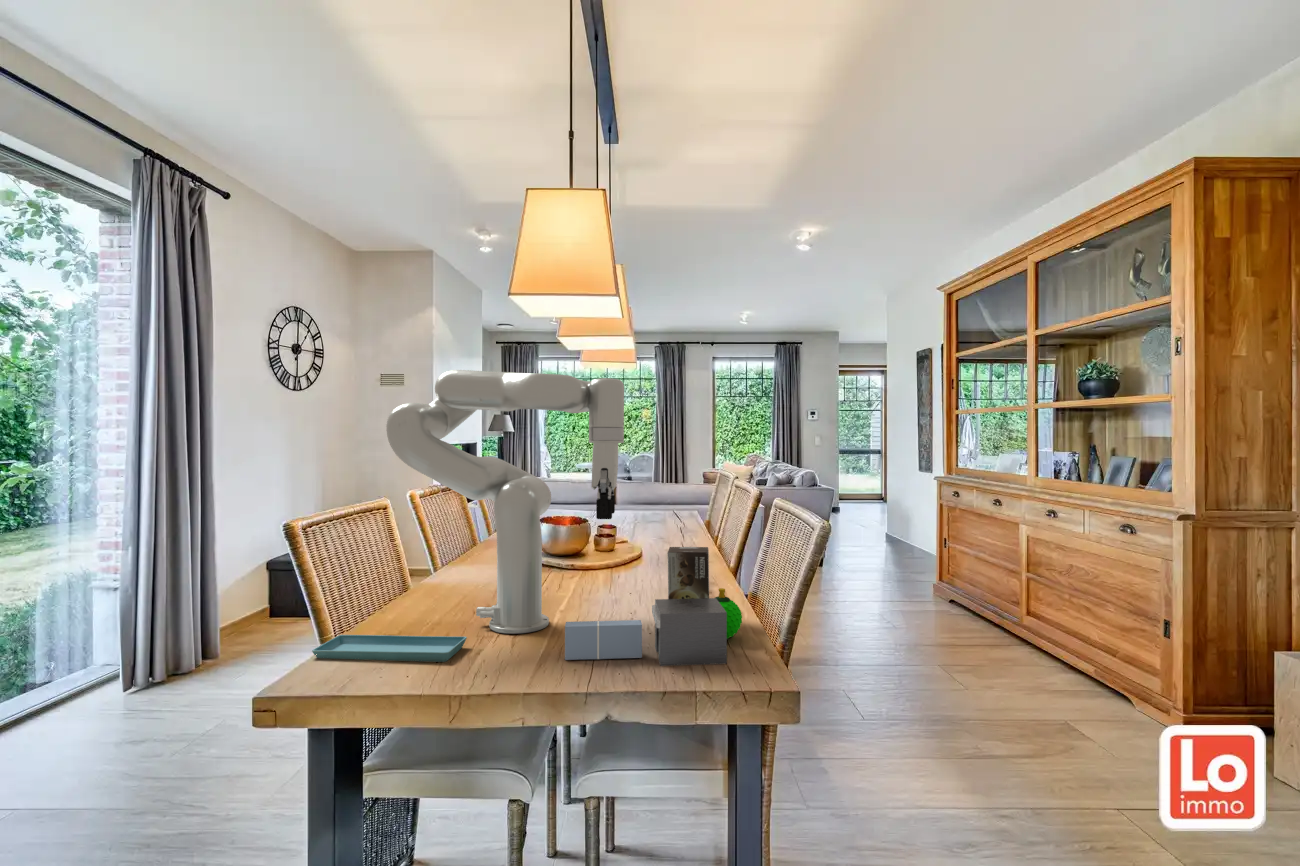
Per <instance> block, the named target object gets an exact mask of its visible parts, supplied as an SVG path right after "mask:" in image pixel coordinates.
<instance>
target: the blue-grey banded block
mask: <svg viewBox="0 0 1300 866" xmlns="http://www.w3.org/2000/svg"><path fill="white" fill-rule="evenodd" d="M638 658H639V659H641V658H643V624H642V620H641V619H631V620H629V619H625V620H588V621H587V620H585V621H583V620H582V621H565V624H564V660H565V661H571V660H574V661H575V660H579V661H580V660H609V659H614V660H615V659H638Z"/></svg>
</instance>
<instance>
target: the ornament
mask: <svg viewBox="0 0 1300 866" xmlns="http://www.w3.org/2000/svg"><path fill="white" fill-rule="evenodd" d="M725 594H726V589H725V588H720V587H719V588H718V596H716V597H714V598H716V599H717V600H718V601H719V603H720V604H721V605H722V607H723V608H724V609H725V611H726V612H727V640H728V639H730V638H733V637H734V635H735V634H737V633H738V631H739V630H740V629H741V625H742V623H743V621H742V619H743V615H742V611H741V608H740V607H739V606H738V604H736V602H734V600H732V599H731V598H729V597H727V596H726V595H725Z"/></svg>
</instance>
